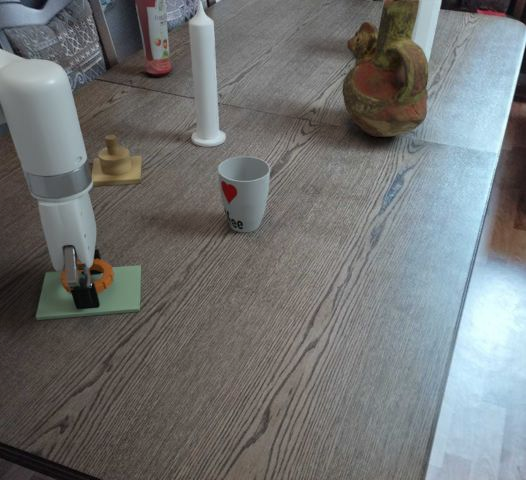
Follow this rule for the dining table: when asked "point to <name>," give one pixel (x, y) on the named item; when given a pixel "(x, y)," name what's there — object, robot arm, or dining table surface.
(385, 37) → the ceramic vessel
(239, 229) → the cup
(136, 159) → the stand
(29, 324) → the dining table surface
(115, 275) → the mat
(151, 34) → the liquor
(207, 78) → the candle
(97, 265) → the ring
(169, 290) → the dining table surface
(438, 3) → the container
